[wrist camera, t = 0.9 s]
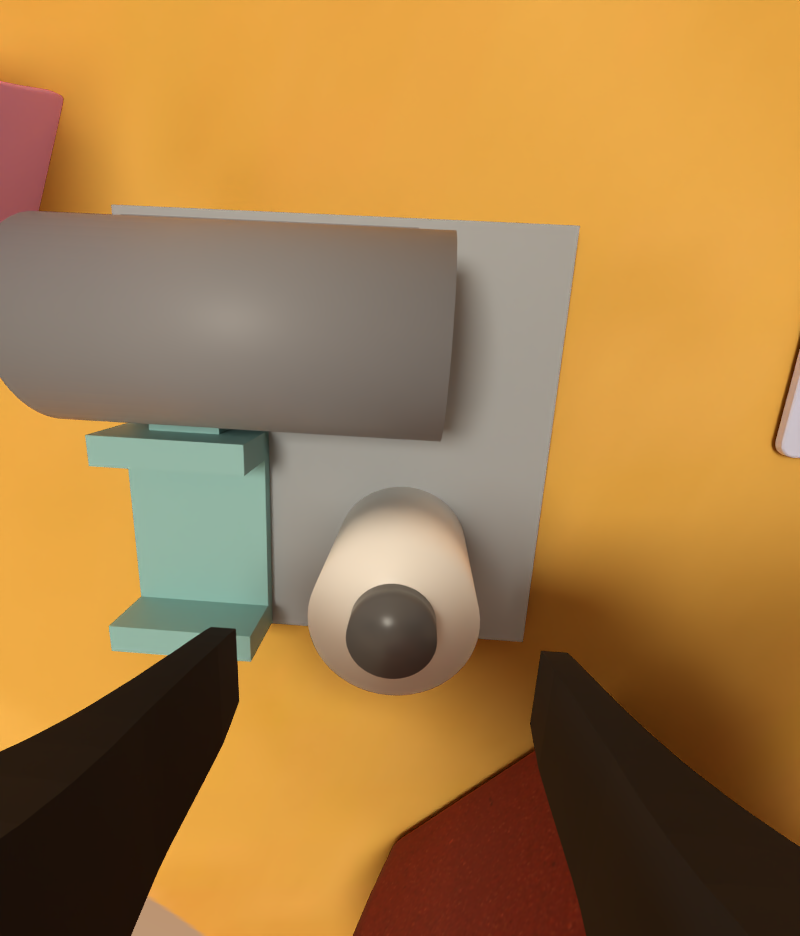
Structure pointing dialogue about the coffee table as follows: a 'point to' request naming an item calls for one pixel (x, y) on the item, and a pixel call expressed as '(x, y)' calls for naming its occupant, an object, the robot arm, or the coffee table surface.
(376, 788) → the coffee table surface
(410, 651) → the cream canister
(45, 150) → the toy chair
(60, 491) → the coffee table surface
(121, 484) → the coffee table surface
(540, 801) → the plant pot
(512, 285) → the motor assembly
